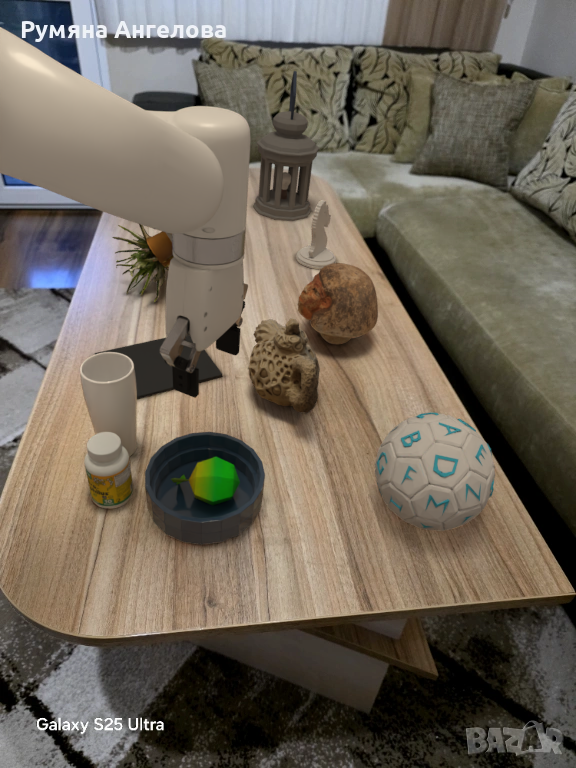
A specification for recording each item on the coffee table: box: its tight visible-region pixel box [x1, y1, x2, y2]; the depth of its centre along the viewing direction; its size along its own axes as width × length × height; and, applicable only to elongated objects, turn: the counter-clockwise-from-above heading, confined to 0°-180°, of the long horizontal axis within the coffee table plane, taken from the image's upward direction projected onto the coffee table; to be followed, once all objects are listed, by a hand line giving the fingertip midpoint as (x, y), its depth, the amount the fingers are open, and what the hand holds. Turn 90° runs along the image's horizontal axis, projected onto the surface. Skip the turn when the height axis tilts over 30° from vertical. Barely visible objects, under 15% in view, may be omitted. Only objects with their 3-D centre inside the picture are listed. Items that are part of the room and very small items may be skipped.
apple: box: [171, 457, 240, 505], centre depth 71 cm, size 7×6×9 cm
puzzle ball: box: [374, 411, 496, 532], centre depth 71 cm, size 15×15×15 cm
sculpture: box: [297, 262, 379, 345], centre depth 102 cm, size 15×16×15 cm
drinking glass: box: [79, 352, 138, 458], centre depth 74 cm, size 7×7×15 cm
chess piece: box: [295, 199, 337, 270], centre depth 128 cm, size 10×10×15 cm
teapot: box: [247, 318, 321, 414], centre depth 86 cm, size 21×12×15 cm, turn 22°
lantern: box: [252, 70, 320, 222], centre depth 145 cm, size 17×17×35 cm
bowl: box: [144, 431, 266, 545], centre depth 72 cm, size 15×15×5 cm
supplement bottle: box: [83, 432, 134, 509], centre depth 69 cm, size 5×5×10 cm
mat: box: [94, 334, 223, 400], centre depth 94 cm, size 18×14×1 cm
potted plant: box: [111, 224, 174, 304], centre depth 111 cm, size 25×18×25 cm
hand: (207, 370), depth 67 cm, fingers open, 9 cm apart
